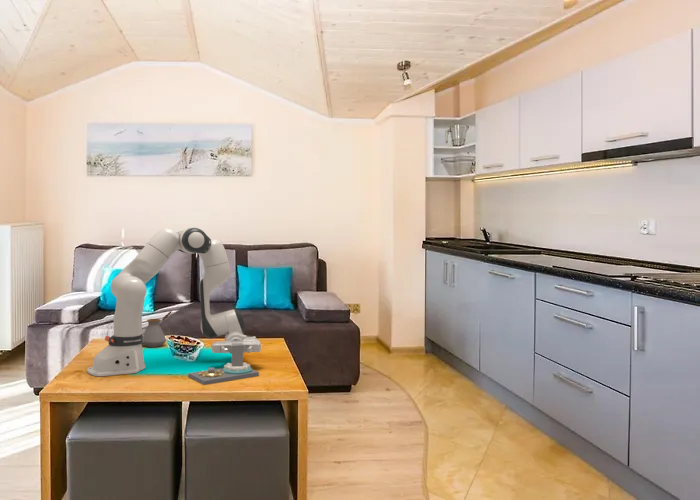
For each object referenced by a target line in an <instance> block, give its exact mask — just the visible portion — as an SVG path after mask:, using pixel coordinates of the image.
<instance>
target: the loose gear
mask: <svg viewBox="0 0 700 500" xmlns="http://www.w3.org/2000/svg"><path fill="white" fill-rule="evenodd" d="M230 359H231V362H227V363H226V364H224V366H223V368H224V369H227V371H236V372H239V371H247V370H248V369H250V367H251V364H250V363H247V362H244V353H243V343H232V354H231V358H230Z"/></svg>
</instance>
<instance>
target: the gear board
mask: <svg viewBox="0 0 700 500" xmlns="http://www.w3.org/2000/svg"><path fill="white" fill-rule="evenodd" d="M187 374H188V375H187V376H188V378H190V379H191V380H193V381H196V382H198V383H200V384H201V385H203V386H205V385H206V386H207V385H212V384H217V383H224V382H230V381H236V380H241V379H243V380H244V379H247V378H248V379H249V378H254V377H259V375H260V372H259V371H257V370H255V369H253V368H252V367H251V366H250V369H248V370H247V371H239V372H236V371H227V369H224V367H222V368H221V367H219V368H215V367H214V366H213V367H208V369H206V370H201V371H194V372H193V371H192V372H189V373H187Z"/></svg>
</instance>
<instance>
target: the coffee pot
mask: <svg viewBox="0 0 700 500" xmlns="http://www.w3.org/2000/svg"><path fill="white" fill-rule="evenodd" d="M170 315H172V316H173V315H174V312H173V311H169V312H167V314H166V315H165V316H163V318H162V319H160V318H149V319H146V321H147V323H148V325H147V327H146V329H145V331H144V333H143V346H145V347H146V348H159V347H162V346H163V345H164V344H165V343H166V342H167V339H165V338H166V336H165V334H164V331H163V330H162V327H161V323H163V322H164V321H165V320H166V319H168V317H169V316H170Z"/></svg>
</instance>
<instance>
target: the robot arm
mask: <svg viewBox="0 0 700 500" xmlns="http://www.w3.org/2000/svg"><path fill="white" fill-rule="evenodd" d="M176 251H179V252H181V253H184V254H191V255H192V254H197V255H199V257H200V259H201V261H202V264H203V269H204V273H203V274H204V275H203V278H202V279H201V280H200V282H199V299H200V300H199V302H200V317H201V319H200V331H201V333H202V335H203V336H204V337H206V338H208V339H210V340H211V339H214V338H217V337H219V336H224V335H225V336H224V340H222V341H221V340H220V341H218V340H217V341H214V342H213V343H212V344H211V345H210V346H211V352H212V353H213V354H219V353H220V354H231V355H232V343H243V354H244V353H249V354H250V353H260V352H261V350H262V346H261V341H260V340H259V339H257V337H256V336H255V335H254V336H253V335H246V334H244V333H245V330H246V325H245V320H244V318H243V315H242V314H241V313H242V312H241V311H239V310H237V309H236V308H234V309H229V310H226V311H225V310H224V311H221V312H218V313H215V314H212V313H211V308H210V307H211V305H210V304H211V303H210V295H211V294H212V292H213V291H214V290H215V289H217V288H219V287H221V285H223V284H224V283H225V282H226V281H227V280H228V279H229V277H230V276H231V266H230V260H229V257H228V254H227V251H226V249H225V247H224V244H223V242H222V241H221V240H219V239H216V238H215V239H211V238H210V237H209V236H208V235H207V233H206V232H205V231H204V230H202V229H200V228H198V227H188V228H186V229H183V230H180V231H178V232H176V231H175V230H174V229H172V228H170V227H164V228H162V229H160V230H159V231H157V233H155V234H154V235H153V236H152V237H151V238H150V239H149V241H148V242H147V243H145V246H144V247H142V248H141V249H140V251H139V253H138V254H137V255H136V256H135V258H133V259H132V261H131V262H129V263H128V264H127V265H126V266H125V267H124V268H123V269H122V270H121V271H120V272H119V273H118V274H117V275H116V276H115V277H114V278H113V279H112V280H111V282H110V291H111V294H112V295H113V296H114V297H115V298H116V303H115V309H114V310H115V311H114V315H113V334H112V335H111V336H108V335H106V336H105V337H104V341H106V342H108V345H107V346H105V347H104V348H103V349H101V350H100V351H99V352H98V353H97V354H96V355H95V356H94V358H93V361H92V362H93V363H92V366H89V367H88V368H87V369H86V372H87V373H88V374H89V375H91V376H94V377H106V376H108V377H109V376H117V375H129V374H137V373H139V372H140V371H144V369H146V364H145V360H144V353H143V347H144V344H143V336H144V333H143V331H142V330H143V329H142V327H143V325H142V324H143V311H144V307H145V298H146V295H147V286H146V283H148V282H149V281H150V280H151V279H153V277H154V276H156V275H157V274H158V273H159V272H161V270H162V268H163V267H164V266H165V265H166V263H167V262H169V260H170V258H171V257H172V256H173V254H175V252H176Z"/></svg>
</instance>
